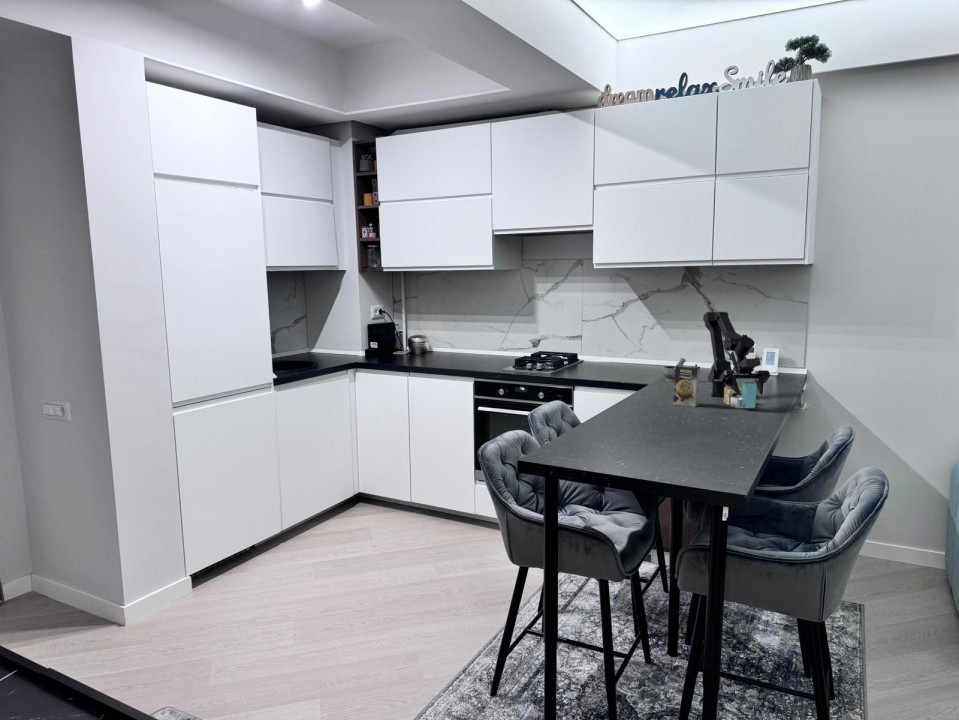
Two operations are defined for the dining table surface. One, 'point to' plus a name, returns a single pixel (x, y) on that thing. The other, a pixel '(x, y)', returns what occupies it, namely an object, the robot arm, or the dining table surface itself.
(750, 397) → the teal and silver mallet
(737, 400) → the white notched block
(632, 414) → the dining table surface
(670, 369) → the mortar and pestle
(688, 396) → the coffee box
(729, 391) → the socket
